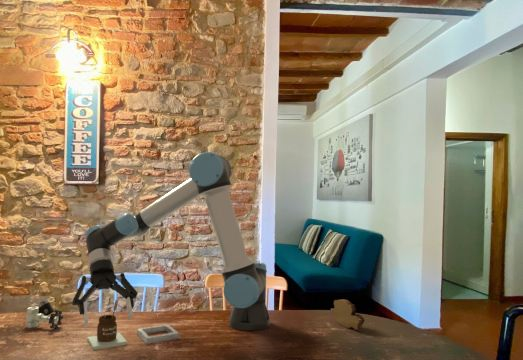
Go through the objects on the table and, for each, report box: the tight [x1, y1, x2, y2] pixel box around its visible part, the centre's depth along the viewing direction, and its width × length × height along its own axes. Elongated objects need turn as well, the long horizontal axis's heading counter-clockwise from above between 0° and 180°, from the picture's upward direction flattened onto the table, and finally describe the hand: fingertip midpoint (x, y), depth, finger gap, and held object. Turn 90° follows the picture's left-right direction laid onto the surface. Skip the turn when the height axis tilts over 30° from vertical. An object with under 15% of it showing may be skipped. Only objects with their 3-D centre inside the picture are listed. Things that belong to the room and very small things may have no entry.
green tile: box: [87, 331, 128, 351], centre depth 136 cm, size 10×10×1 cm
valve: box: [25, 306, 64, 330], centre depth 150 cm, size 7×7×12 cm
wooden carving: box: [330, 298, 365, 331], centre depth 159 cm, size 16×5×10 cm, turn 34°
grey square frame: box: [136, 324, 180, 345], centre depth 143 cm, size 11×11×2 cm
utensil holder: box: [96, 300, 119, 342], centre depth 137 cm, size 6×6×12 cm
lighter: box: [38, 300, 55, 316], centre depth 161 cm, size 9×2×6 cm
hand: (109, 319), depth 135 cm, fingers open, 13 cm apart
